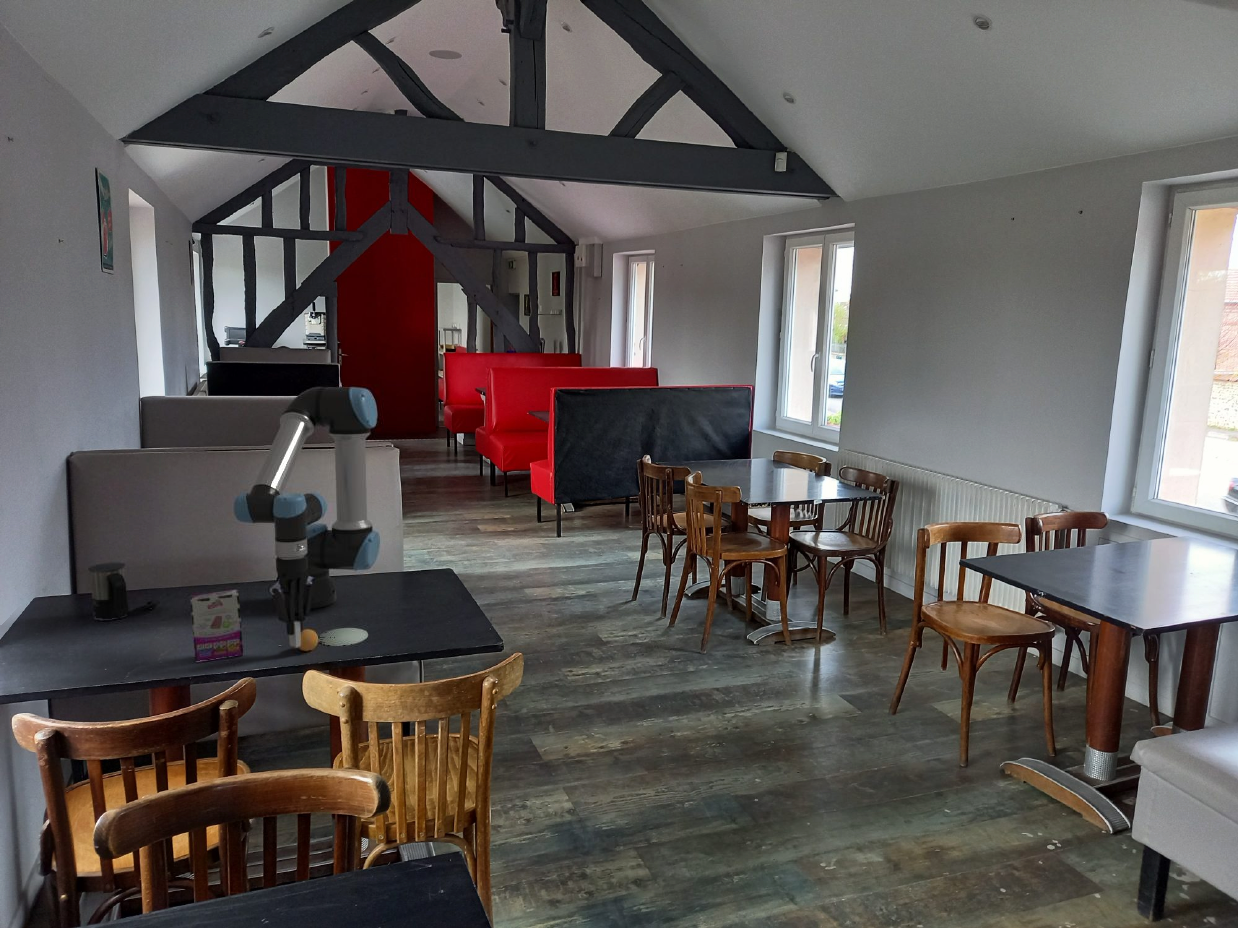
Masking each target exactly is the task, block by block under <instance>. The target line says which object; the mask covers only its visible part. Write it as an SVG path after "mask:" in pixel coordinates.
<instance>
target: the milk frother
mask: <svg viewBox="0 0 1238 928" xmlns="http://www.w3.org/2000/svg"><path fill="white" fill-rule="evenodd" d="M125 567H126V563H124V562H115V561H114V562H104V563H100V564H95V565H91V566H89V567H88V568H87V571H89V581H90V590H91V599H92V600H91V601H92V610H93V611H92V613H93V616H95V617H96V618H102V619H112V618H120V617H122V616H125V615H128V614H129V613H130V614H131V613H135V612H138V611H141V610H144V609H147V608H148V609H149V610H150V608H154V607H155V608H156V607H157V606H158V605H160V604H162V603H163V602H162V600H154V599H151V600H147V601H146V604H144V605H140V606H137V607H136V608H134V609H132V610H130V609H129V602H128V595H127V583H126V581H127V579H126V570H125ZM155 608H154V609H155ZM130 614H129V615H130ZM129 615H128V616H129Z"/></svg>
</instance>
